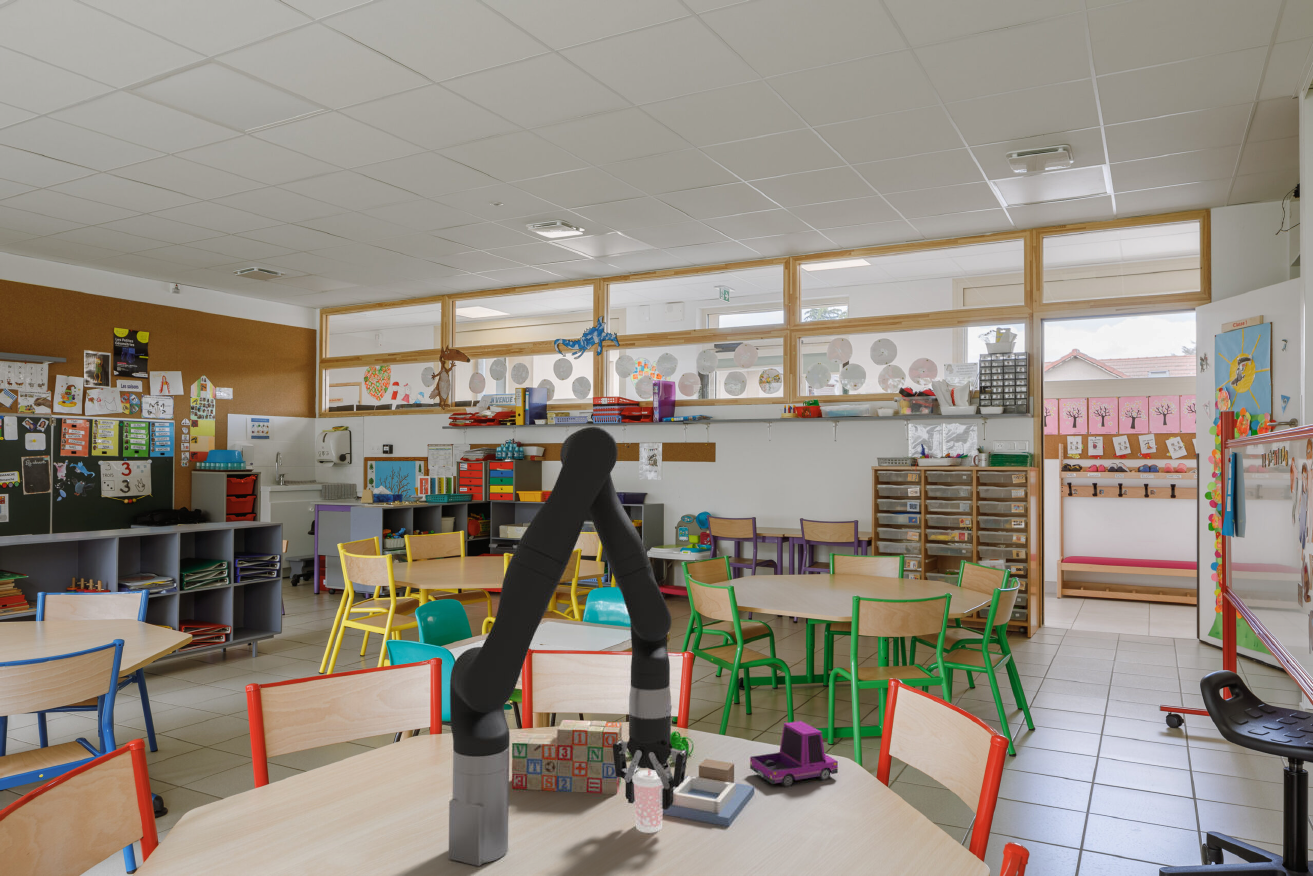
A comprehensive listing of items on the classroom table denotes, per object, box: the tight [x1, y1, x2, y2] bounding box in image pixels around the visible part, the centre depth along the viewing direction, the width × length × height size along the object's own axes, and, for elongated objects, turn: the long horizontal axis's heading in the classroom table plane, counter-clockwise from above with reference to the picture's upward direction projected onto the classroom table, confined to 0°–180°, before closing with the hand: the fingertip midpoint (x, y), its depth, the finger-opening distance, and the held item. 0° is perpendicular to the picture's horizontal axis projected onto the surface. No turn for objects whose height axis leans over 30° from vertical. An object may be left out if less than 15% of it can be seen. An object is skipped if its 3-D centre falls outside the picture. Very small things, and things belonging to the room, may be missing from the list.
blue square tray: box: [663, 758, 755, 827], centre depth 160 cm, size 16×14×6 cm
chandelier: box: [626, 730, 694, 761], centre depth 185 cm, size 15×15×7 cm
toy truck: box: [749, 720, 839, 788], centre depth 174 cm, size 11×16×10 cm
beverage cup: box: [632, 768, 664, 834], centre depth 149 cm, size 6×6×14 cm
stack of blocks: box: [511, 719, 623, 795], centre depth 168 cm, size 21×6×12 cm, turn 85°
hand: (649, 804), depth 149 cm, fingers closed on beverage cup, 6 cm apart
